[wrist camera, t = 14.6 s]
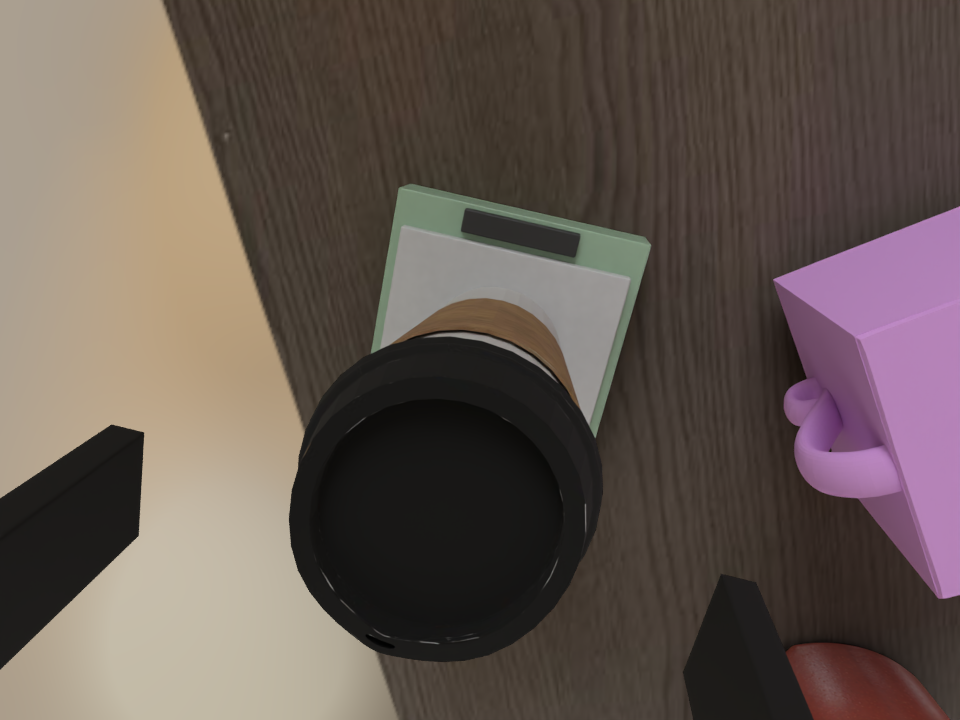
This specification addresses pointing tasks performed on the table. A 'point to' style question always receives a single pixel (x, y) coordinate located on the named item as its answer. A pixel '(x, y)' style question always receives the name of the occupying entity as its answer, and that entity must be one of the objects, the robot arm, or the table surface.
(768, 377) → the table surface
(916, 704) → the flower pot
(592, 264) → the kitchen scale
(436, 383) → the coffee cup
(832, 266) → the teapot
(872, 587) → the table surface
